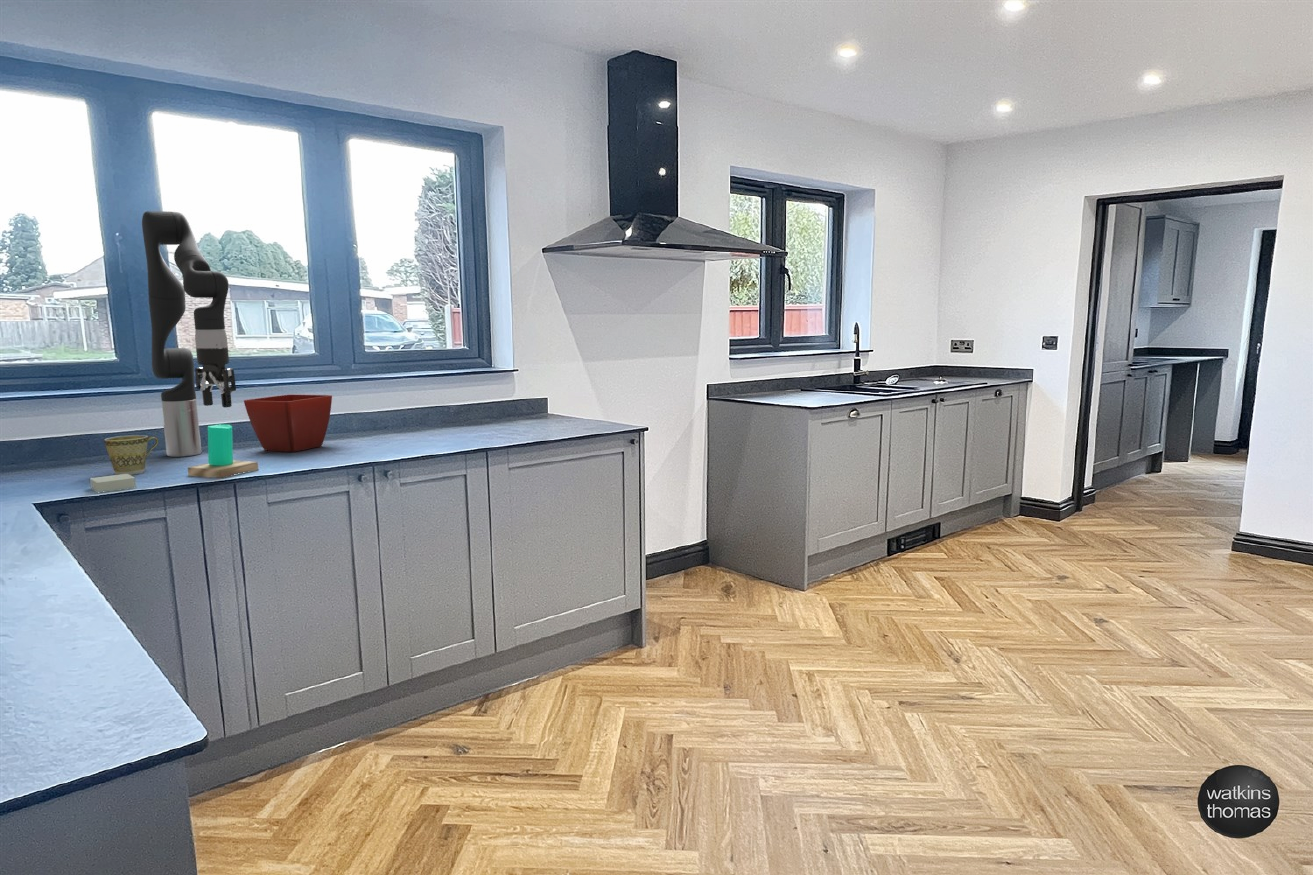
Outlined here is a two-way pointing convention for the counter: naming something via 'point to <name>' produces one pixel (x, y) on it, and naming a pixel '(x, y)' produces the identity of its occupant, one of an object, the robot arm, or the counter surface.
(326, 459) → the counter surface
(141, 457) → the ceramic cup
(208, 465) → the oak block
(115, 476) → the sage block
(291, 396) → the plant pot
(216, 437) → the candle
